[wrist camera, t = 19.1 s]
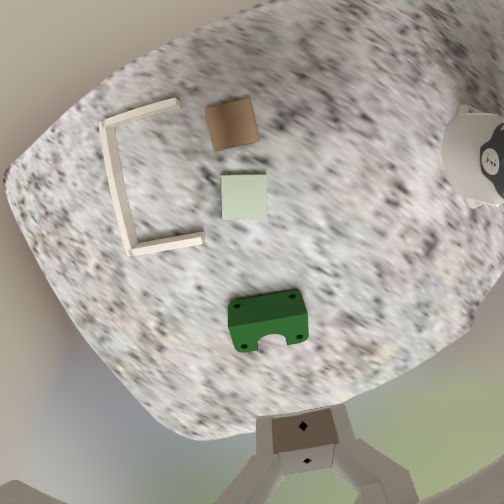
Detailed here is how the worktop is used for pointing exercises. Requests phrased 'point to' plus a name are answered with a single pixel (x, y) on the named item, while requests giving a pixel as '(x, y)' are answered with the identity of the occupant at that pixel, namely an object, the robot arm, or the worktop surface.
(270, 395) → the worktop surface
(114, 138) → the white u-shaped frame
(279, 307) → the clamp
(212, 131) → the walnut tile
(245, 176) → the sage tile
